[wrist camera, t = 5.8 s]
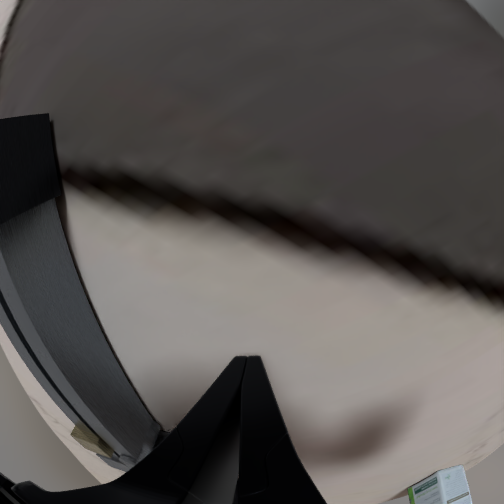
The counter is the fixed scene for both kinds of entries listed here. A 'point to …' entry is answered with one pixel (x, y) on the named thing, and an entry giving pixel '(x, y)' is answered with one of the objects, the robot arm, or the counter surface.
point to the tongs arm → (59, 294)
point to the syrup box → (442, 488)
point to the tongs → (61, 394)
